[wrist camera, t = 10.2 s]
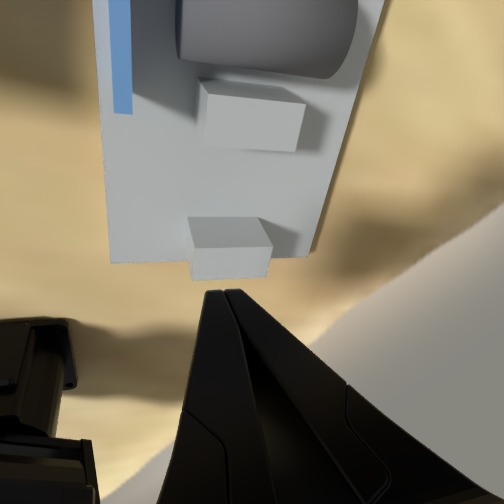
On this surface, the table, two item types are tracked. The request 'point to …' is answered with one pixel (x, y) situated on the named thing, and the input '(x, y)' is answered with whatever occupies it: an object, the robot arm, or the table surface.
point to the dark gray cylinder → (267, 34)
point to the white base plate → (214, 146)
